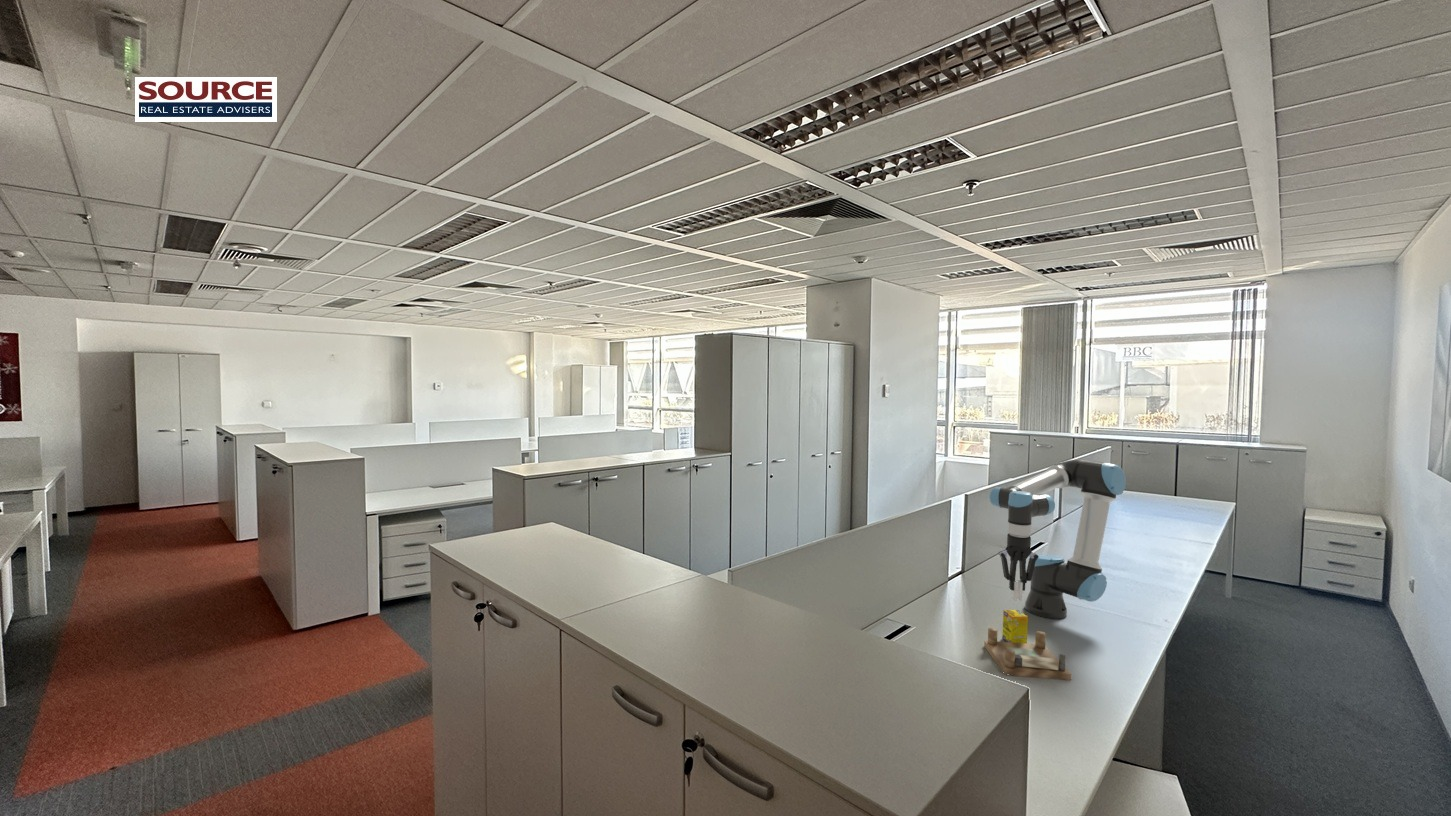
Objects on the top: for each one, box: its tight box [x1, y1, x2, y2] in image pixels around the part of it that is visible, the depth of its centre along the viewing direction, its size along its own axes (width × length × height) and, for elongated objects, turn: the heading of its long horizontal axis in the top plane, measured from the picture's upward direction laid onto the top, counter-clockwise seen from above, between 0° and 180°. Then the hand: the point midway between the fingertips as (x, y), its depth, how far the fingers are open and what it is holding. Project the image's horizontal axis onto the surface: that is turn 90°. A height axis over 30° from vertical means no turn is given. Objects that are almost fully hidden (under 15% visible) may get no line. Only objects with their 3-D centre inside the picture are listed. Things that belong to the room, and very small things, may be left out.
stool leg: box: [1015, 654, 1059, 670], centre depth 183 cm, size 13×3×3 cm, turn 79°
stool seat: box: [983, 627, 1072, 681], centre depth 190 cm, size 20×20×7 cm
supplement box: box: [1001, 609, 1029, 644], centre depth 205 cm, size 6×6×11 cm
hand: (1016, 598), depth 204 cm, fingers closed
